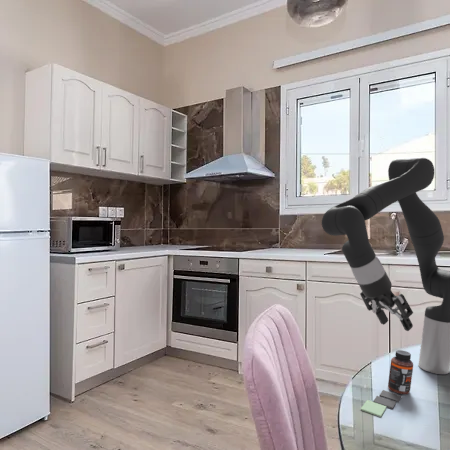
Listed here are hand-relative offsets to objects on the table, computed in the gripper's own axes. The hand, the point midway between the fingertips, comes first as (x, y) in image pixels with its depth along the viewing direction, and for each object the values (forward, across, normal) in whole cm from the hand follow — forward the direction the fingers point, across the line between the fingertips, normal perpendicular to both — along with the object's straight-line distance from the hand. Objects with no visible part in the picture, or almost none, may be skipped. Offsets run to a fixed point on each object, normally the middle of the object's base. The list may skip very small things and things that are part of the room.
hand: (396, 325), depth 110 cm
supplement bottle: (+22, +8, +5) cm, 24 cm away
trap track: (+16, +3, +14) cm, 21 cm away
